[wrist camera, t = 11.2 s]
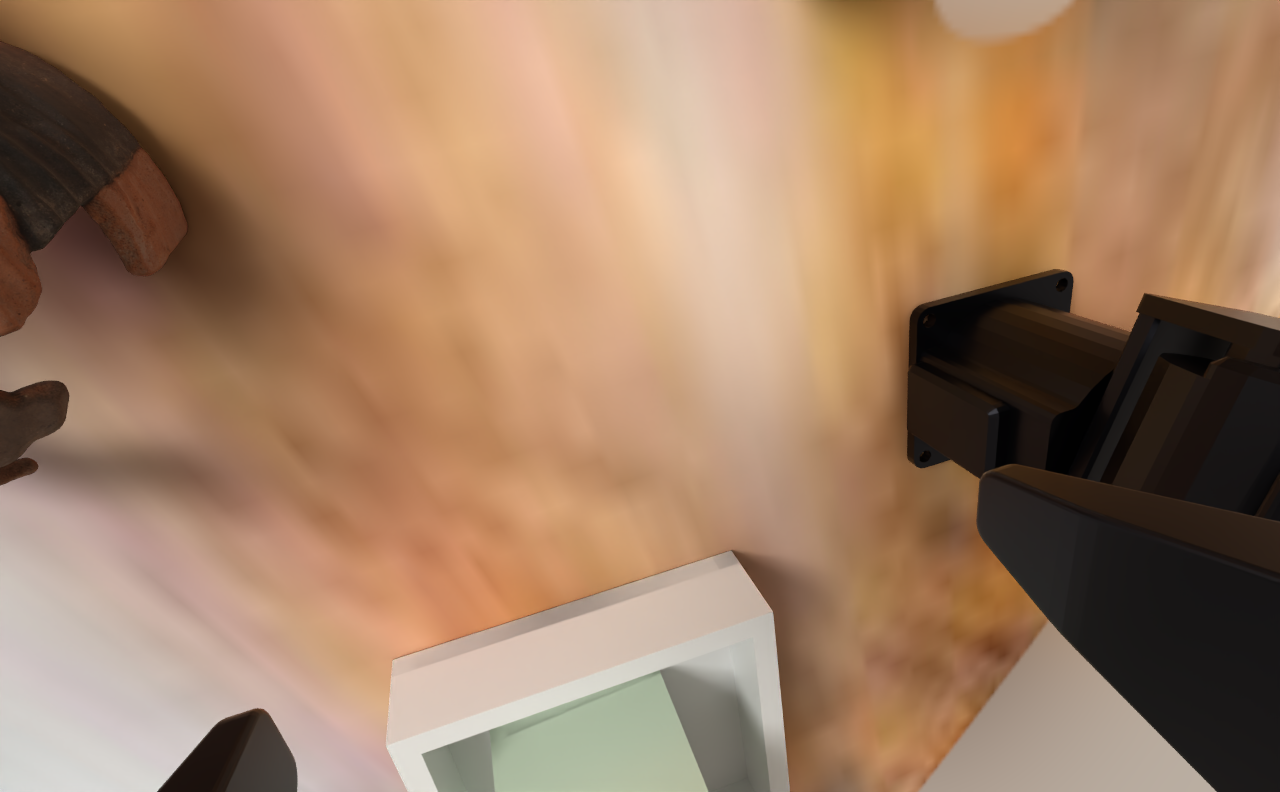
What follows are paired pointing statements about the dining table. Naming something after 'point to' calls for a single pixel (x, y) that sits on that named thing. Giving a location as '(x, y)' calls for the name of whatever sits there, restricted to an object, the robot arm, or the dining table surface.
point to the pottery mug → (65, 214)
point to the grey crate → (604, 678)
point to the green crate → (599, 745)
